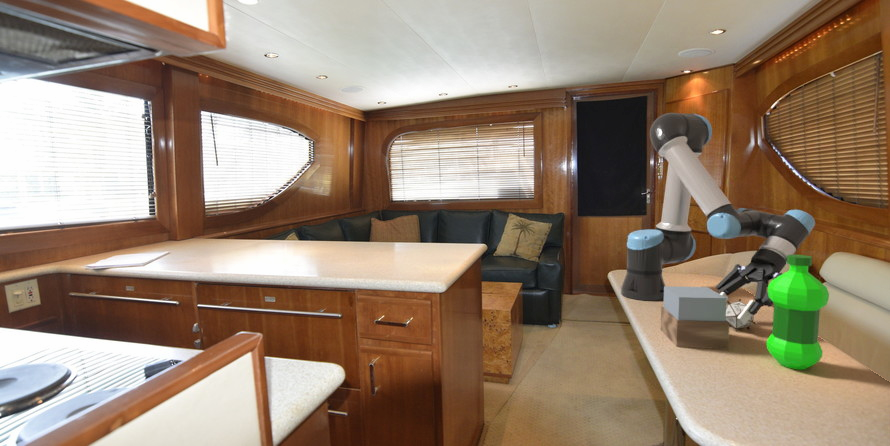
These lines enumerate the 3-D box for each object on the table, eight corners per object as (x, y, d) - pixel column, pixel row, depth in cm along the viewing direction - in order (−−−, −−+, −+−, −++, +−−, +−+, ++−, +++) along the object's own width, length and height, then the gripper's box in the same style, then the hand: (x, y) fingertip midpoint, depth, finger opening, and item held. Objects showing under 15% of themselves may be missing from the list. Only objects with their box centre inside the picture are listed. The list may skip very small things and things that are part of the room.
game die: (745, 343, 120) (769, 322, 114) (714, 331, 121) (737, 310, 115) (738, 319, 127) (761, 298, 120) (709, 308, 128) (731, 286, 121)
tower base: (660, 330, 121) (661, 306, 121) (706, 332, 120) (707, 307, 119) (676, 347, 110) (677, 320, 109) (727, 349, 108) (729, 322, 107)
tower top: (663, 307, 120) (664, 286, 119) (706, 308, 118) (707, 287, 118) (678, 320, 109) (679, 297, 109) (725, 321, 108) (726, 298, 107)
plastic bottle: (829, 366, 97) (837, 256, 94) (810, 379, 91) (819, 262, 88) (776, 352, 105) (782, 250, 102) (756, 362, 99) (762, 255, 97)
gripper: (818, 271, 115) (769, 337, 112) (744, 258, 135) (701, 313, 132) (805, 253, 112) (755, 319, 110) (732, 242, 132) (688, 298, 130)
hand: (726, 316), depth 121 cm, fingers closed on game die, 8 cm apart
